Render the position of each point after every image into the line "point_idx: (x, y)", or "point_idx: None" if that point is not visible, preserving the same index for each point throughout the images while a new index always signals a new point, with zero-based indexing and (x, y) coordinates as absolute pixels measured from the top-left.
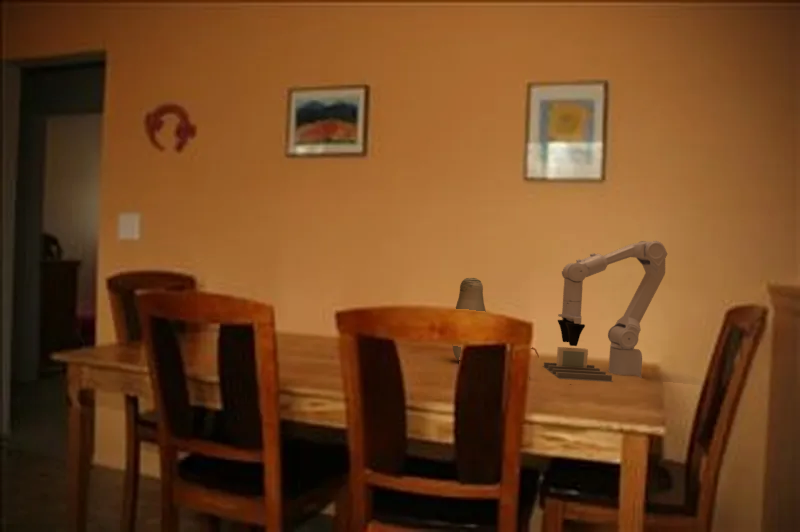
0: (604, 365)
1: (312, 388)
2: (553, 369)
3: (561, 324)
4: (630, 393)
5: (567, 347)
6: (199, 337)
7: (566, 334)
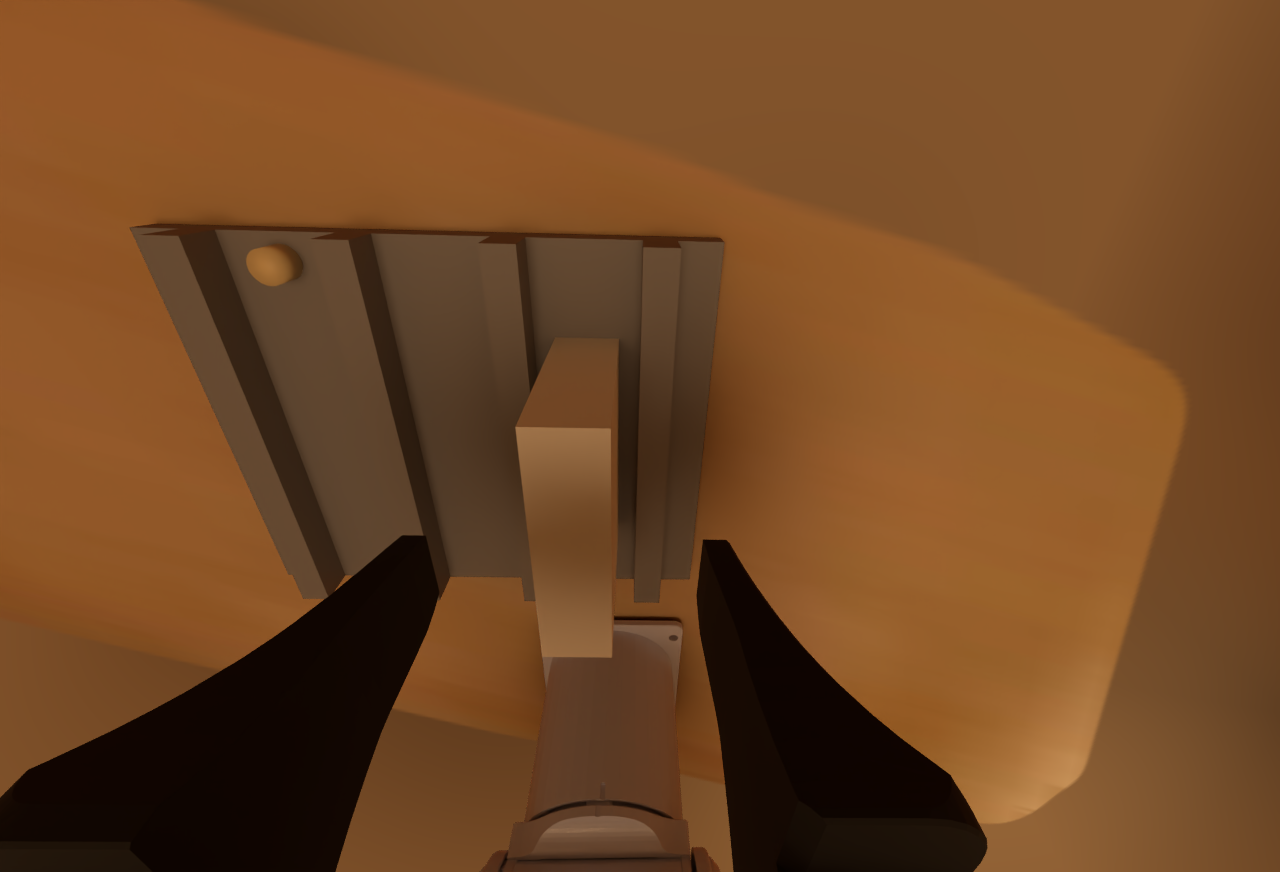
0: (903, 677)
1: None
2: (312, 238)
3: (767, 750)
4: (119, 574)
5: (609, 525)
6: None
7: (720, 646)
